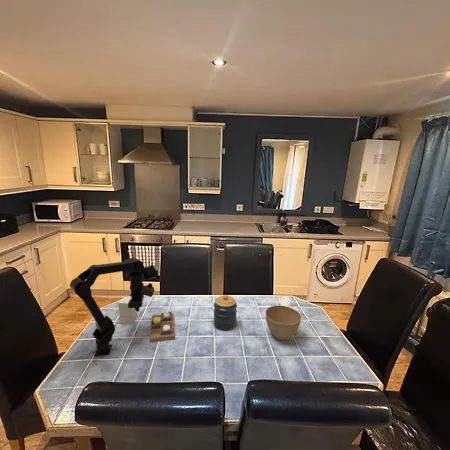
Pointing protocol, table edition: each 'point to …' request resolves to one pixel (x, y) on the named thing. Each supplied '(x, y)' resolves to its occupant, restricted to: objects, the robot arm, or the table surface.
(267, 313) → the tan bowl
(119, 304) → the supplement box
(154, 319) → the mustard button
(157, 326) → the brown button box
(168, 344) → the table surface
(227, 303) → the canister
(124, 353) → the table surface
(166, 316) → the sage button
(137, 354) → the table surface
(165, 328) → the cream button
